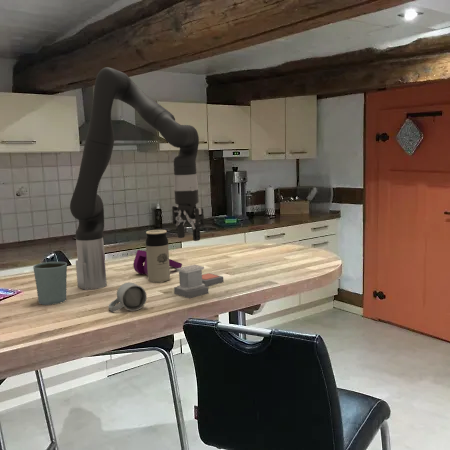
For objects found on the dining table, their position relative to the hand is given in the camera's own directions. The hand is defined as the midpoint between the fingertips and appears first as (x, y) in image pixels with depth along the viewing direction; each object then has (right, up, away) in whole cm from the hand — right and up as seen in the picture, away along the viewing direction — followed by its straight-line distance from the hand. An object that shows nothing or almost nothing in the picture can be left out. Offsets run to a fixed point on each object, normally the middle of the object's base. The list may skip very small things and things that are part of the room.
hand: (188, 239), depth 162 cm
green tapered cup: (-44, -20, 0) cm, 48 cm away
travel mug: (-12, -16, +22) cm, 29 cm away
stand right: (+6, -16, +15) cm, 23 cm away
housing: (+1, -16, +2) cm, 16 cm away
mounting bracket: (-13, -14, +34) cm, 39 cm away
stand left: (+1, -18, +3) cm, 18 cm away
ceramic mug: (-18, -21, -11) cm, 29 cm away
